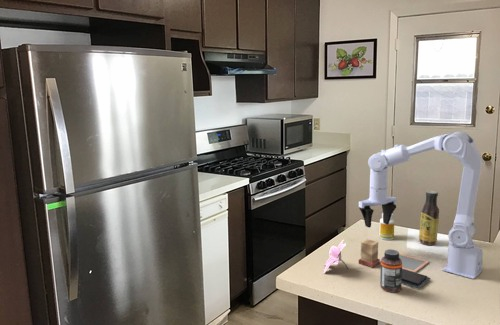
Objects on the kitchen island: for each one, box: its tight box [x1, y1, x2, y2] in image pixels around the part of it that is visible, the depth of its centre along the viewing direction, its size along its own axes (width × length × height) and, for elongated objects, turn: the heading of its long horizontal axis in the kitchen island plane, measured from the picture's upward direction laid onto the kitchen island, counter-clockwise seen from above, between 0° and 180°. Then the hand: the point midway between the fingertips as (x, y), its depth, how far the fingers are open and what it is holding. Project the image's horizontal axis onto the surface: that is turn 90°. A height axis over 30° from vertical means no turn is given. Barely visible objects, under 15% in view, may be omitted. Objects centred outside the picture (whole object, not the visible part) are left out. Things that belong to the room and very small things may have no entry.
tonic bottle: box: [418, 189, 440, 246], centre depth 160 cm, size 6×6×20 cm
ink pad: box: [401, 269, 432, 290], centre depth 132 cm, size 10×8×1 cm
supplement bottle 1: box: [378, 212, 395, 241], centre depth 167 cm, size 5×5×10 cm
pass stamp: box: [358, 238, 381, 269], centre depth 144 cm, size 5×5×8 cm
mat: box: [399, 252, 430, 273], centre depth 144 cm, size 11×11×1 cm
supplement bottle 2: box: [379, 248, 402, 293], centre depth 126 cm, size 6×6×11 cm
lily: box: [323, 239, 349, 274], centre depth 140 cm, size 12×12×10 cm
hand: (377, 225), depth 152 cm, fingers open, 7 cm apart
